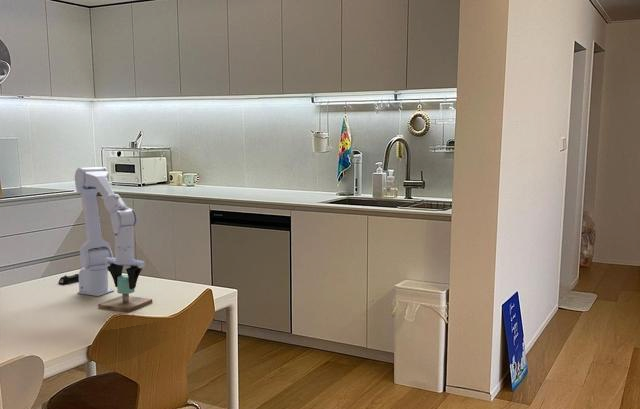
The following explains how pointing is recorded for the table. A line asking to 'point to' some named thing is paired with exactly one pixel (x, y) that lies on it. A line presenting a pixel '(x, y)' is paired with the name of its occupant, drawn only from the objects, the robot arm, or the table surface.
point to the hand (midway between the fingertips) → (125, 287)
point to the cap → (123, 285)
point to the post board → (125, 303)
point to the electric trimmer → (68, 279)
